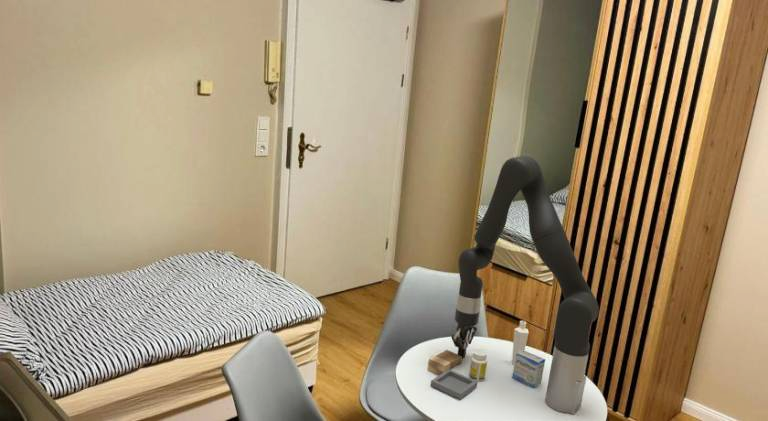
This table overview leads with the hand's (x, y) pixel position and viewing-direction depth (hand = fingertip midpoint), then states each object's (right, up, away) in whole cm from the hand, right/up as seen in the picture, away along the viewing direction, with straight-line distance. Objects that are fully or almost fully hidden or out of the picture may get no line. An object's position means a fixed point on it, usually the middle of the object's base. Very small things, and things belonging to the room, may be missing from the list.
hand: (461, 357), depth 178 cm
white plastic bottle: (+18, -3, +1) cm, 18 cm away
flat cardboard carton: (-6, -2, -3) cm, 7 cm away
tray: (-5, -4, -17) cm, 18 cm away
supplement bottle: (+3, -4, -10) cm, 11 cm away
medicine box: (+19, -5, -9) cm, 22 cm away
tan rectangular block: (-8, -2, -9) cm, 12 cm away
